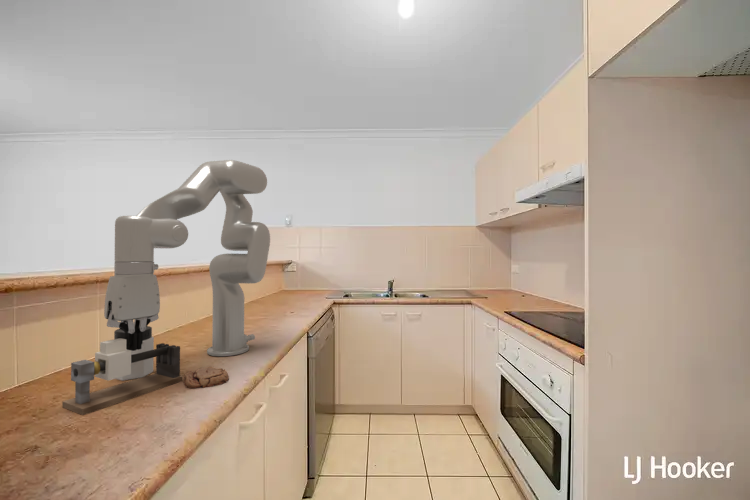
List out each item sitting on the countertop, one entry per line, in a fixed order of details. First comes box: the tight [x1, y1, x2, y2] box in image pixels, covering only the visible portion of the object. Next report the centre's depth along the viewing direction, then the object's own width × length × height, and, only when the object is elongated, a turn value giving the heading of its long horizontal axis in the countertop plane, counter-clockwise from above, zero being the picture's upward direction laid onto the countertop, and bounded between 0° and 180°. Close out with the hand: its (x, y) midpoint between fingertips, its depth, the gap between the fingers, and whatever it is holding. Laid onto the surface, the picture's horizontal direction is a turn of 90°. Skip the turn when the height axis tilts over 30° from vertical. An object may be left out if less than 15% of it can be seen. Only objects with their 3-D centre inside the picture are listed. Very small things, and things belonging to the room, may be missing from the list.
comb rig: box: [61, 342, 184, 416], centre depth 81 cm, size 21×8×9 cm, turn 154°
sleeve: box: [94, 338, 131, 381], centre depth 78 cm, size 4×5×8 cm
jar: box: [113, 325, 155, 382], centre depth 92 cm, size 9×8×12 cm
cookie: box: [183, 366, 230, 389], centre depth 88 cm, size 10×11×3 cm
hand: (133, 349), depth 82 cm, fingers closed
